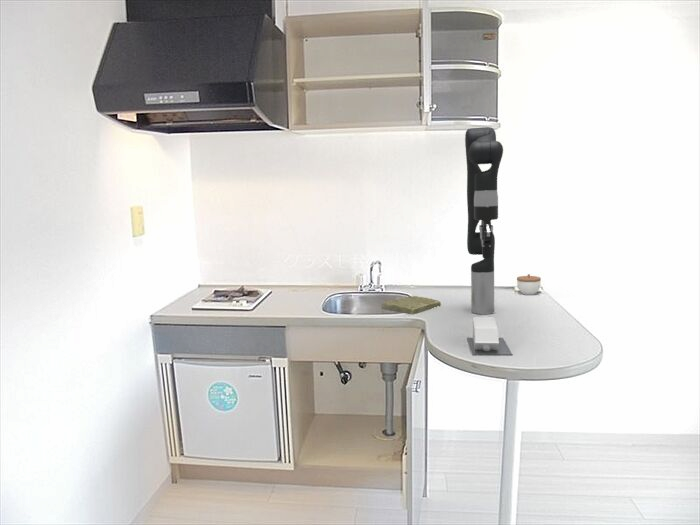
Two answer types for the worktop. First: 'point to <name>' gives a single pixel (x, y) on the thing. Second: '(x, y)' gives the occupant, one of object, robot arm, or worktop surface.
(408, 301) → the olive green towel
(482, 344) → the milk carton
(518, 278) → the lidded jar
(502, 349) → the mat
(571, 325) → the worktop surface
